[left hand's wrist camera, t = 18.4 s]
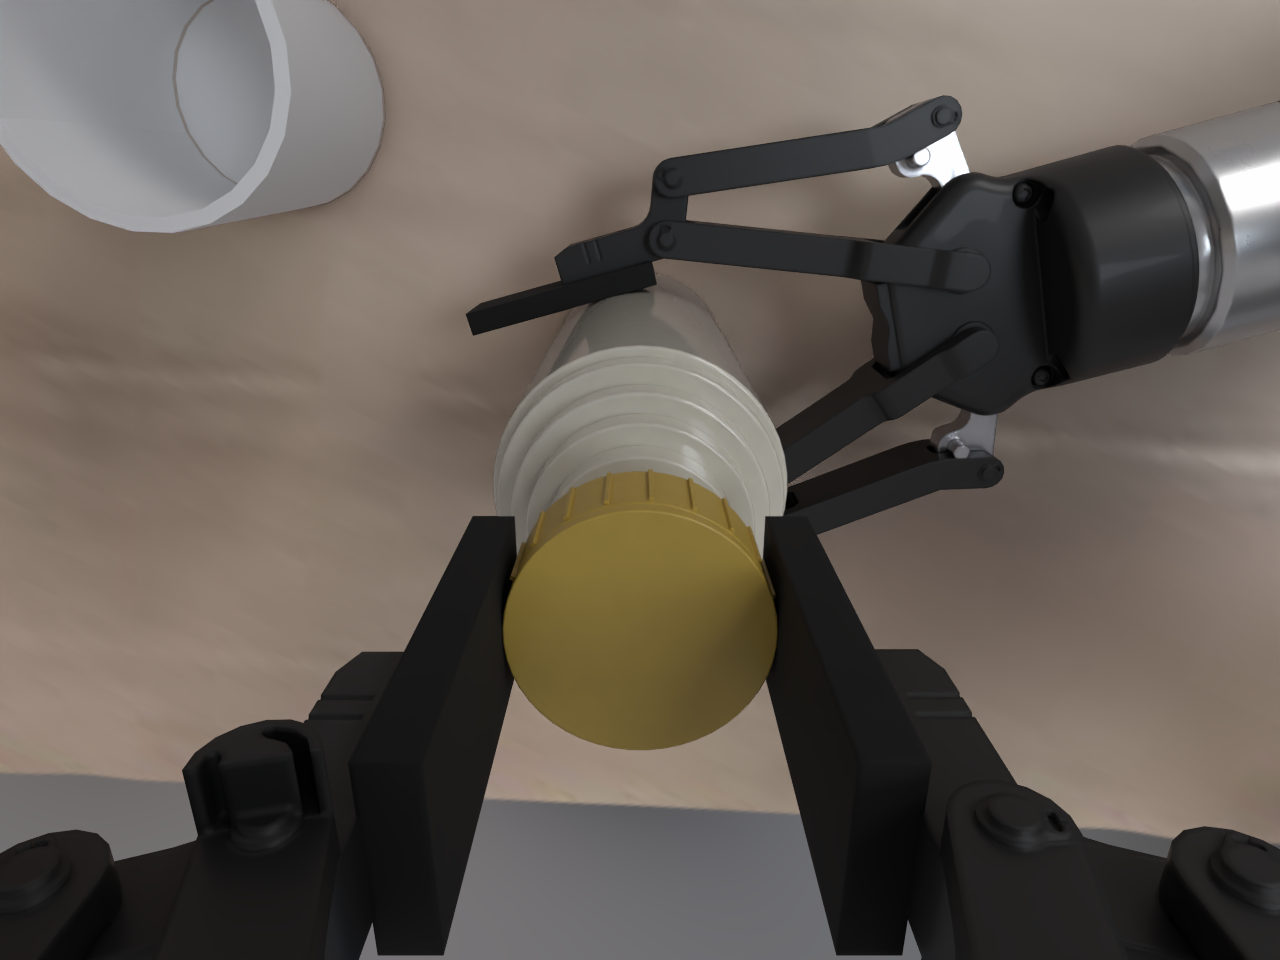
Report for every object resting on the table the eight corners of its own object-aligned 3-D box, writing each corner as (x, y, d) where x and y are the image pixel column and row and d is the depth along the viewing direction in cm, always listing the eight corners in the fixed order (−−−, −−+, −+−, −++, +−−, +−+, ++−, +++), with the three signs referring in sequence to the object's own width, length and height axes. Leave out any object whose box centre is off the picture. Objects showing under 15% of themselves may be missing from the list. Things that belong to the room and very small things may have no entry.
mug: (445, 130, 31) (359, 104, 22) (281, 263, 33) (134, 295, 24) (247, -145, 28) (44, -317, 19) (77, 18, 30) (-188, -61, 20)
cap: (654, 415, 14) (657, 449, 12) (813, 596, 15) (836, 651, 13) (464, 572, 15) (441, 624, 13) (627, 728, 16) (625, 796, 14)
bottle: (668, 458, 36) (708, 843, 15) (531, 383, 35) (363, 685, 14) (751, 324, 34) (936, 550, 13) (608, 239, 33) (552, 334, 12)
